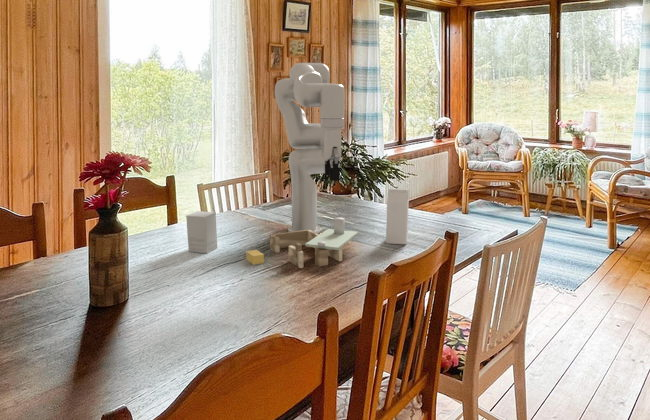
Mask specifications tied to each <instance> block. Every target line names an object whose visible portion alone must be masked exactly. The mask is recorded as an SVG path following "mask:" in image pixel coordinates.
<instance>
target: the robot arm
mask: <svg viewBox="0 0 650 420" xmlns="http://www.w3.org/2000/svg"><path fill="white" fill-rule="evenodd" d="M330 79H331V73H330V69H329V67H328V66H327V65H326V64H325V63H322V62H298V63H295V64H294V65H293V66H291V68H290V69H289V78H281V79H279V80H277V82H275V86H274V99H275V102H276V104H277V107H278V110H279V111H280V114H281V115H282V117H283V121H284V125H285V132H286V136H287V140H288V143H289V146H290V147H291V148H293V150H292V151H291V152H290V153H289V154H288V165H289V166H288V167H289V174H290V179H291V182H290V183H291V187H290V188H291V218H290V221H291V225H290V226H289V227H288V228H287V232H293V231H301V230H308V229H309V230H311V231H314V232H316V233H318V234H319V233H320V234H321V233H322V228H321V227H320V226H318V193H317V192H318V189H317V188H318V186H317V184H316V182H315V180H314V179H313V178H312V177H311V175H318V174H320V175H321V174H324V175H325V177H326V176H329V181H332V182H333V181H340V180H341V165H340V160H341V159H342V130H344V129H345V87H344V85H343V84H340V83H330ZM296 102H297V103H298V104H299V105H298V104H297V103H296ZM301 106H302V107H304V108H320V113H319V114H320V117H319V119H320V123H318V122H317V123H314V122H313V123H309V122H308V120H307V115H306V113H305V111H304V109H303V108H302V107H301ZM294 149H295V150H294Z"/></svg>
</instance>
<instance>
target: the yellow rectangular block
mask: <svg viewBox="0 0 650 420" xmlns="http://www.w3.org/2000/svg"><path fill="white" fill-rule="evenodd" d="M245 254H246V255H245V256H246V257H245V258H246V259H245V260H247V261H248V262H249V263H251V264H252V265H259V264H260V265H261V264H264V263H265V254H264V253H262V252H260V250H257V249H253V250H251V249H250V250H246V251H245Z"/></svg>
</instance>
